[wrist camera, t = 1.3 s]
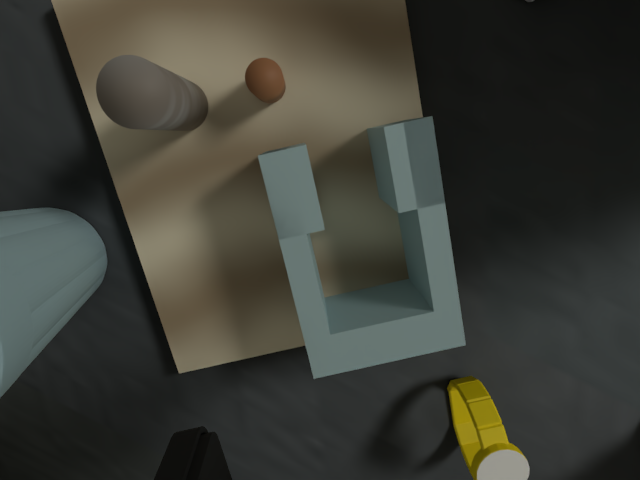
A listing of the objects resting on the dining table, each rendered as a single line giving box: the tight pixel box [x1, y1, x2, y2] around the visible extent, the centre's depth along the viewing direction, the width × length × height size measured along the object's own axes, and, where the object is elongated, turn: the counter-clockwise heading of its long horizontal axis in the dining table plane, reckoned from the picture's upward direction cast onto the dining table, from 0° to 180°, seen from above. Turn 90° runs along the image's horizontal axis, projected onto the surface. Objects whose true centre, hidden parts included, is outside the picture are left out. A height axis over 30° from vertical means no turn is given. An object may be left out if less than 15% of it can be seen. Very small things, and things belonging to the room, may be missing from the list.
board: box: [51, 0, 423, 373], centre depth 19 cm, size 20×16×8 cm
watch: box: [447, 376, 529, 480], centre depth 24 cm, size 6×3×6 cm, turn 12°
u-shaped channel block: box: [258, 116, 466, 379], centre depth 20 cm, size 10×7×4 cm
